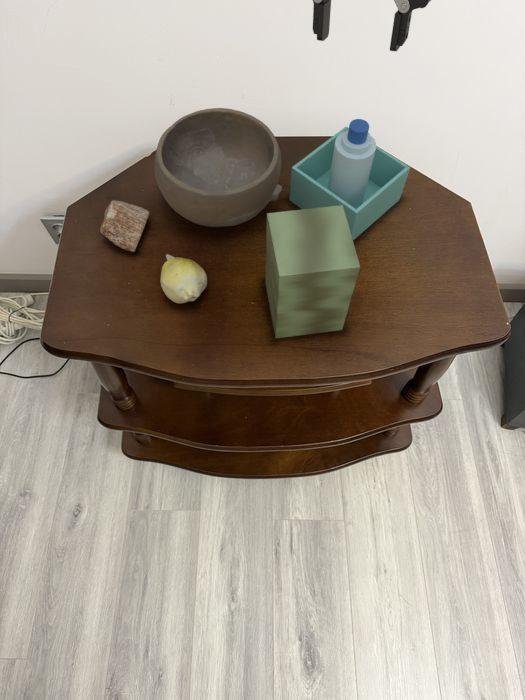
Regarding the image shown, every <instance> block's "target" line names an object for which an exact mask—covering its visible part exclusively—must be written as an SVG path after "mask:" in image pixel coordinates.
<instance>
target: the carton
mask: <svg viewBox="0 0 525 700" xmlns="http://www.w3.org/2000/svg"><path fill="white" fill-rule="evenodd" d="M348 129H349V126H344V127H343V128H342V129H340V130H339V131H338V132H336V133H335V134H333V135H332V136H331V137H330V138H329V139H327V140H325V142H323V143H322V144H320V145H319V146H318V147H317V148H315V149H314V150H313V151H311V152H310V153H309V154H308V155H306V156H304V158H302V159H301V160H300V161H298V162H296V163H295V165H293V166H292V167H291V170H290V185H289V199H288V200H289V201H290V202H291V203H292V204H294V205H295V206H297V207H298V208H300V210H302V209H312V208H321V207H330V206H339V205H343V208H344V212H345V215H346V219H347V222H348V225H349V229H350V232H351V236H352V239H353V241H354V240H356V239H357V238H358V237H359V236H361V234H362V233H364V232H365V231H366V230H367V229H368V228H369V227H371V226H372V225H373V224H374V223H375V222H376V221H378V219H380V218H381V217H382V216H383V215H384V214H385V213H386V212H387V211H389V210H390V209H391V208H392V207H393V206H394V205H396V204H397V203H398V202H399V201H400V200H401V197H402V194H403V191H404V188H405V185H406V182H407V179H408V176H409V173H410V170H411V166H410V165H408V164H406V163H405V162H403V161H401V160H400V159H399V158H397V157H395V156H394V155H392V154H390V153H389V152H387V151H386V150H385V149H382V148H381V147H379V146H378V145H376V151H375V155H374V159H373V163H372V167H371V171H370V175H369V179H368V183H367V187H366V191H365V195H364V199H363V202H362V204H361V205H360V206H359V207H358V208H356V209H355V208H354V207H352V206H351V205H349V204H348V203H347V202H345V201H344V200H342V199H341V198H339V197H338V196H337V195H335V194H334V193H332V192H331V191H329V190H328V183H329V176H330V170H331V164H332V158H333V151H334V145H335V140H336V138H337V137H338V136H339V135H340V134H341V133H343V132H345V131H346V130H348Z"/></svg>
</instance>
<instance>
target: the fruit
mask: <svg viewBox="0 0 525 700" xmlns="http://www.w3.org/2000/svg"><path fill="white" fill-rule="evenodd" d="M165 258H166V261H165V262H164V264H163V265H162V267H161V272H160V279H159V280H160V282H159V283H160V287H161V290H162V291H163V292H164V295H165V296H166V297H167V299H169V300H170V301H172V302H173V303H176V304H185V303H188V302H194V301H196V300H197V299H198V298H199V297H200V296H201V294H202V293H203V292H204V291H205V289H206V288H207V286H208V276H207V273H206V271H205V270H204V268H203V267H202V266H201V265H200V264H198V263H197V262H195V261H194V260H193V259H190V258H185V257H178V256H177V257H175V256H173V255H171V254H169V253H167V254H165Z"/></svg>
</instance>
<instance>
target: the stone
mask: <svg viewBox="0 0 525 700" xmlns="http://www.w3.org/2000/svg"><path fill="white" fill-rule="evenodd" d="M149 217H150V211H149V210H148V209H146V208H144V207H141V206H138V205H135V204H133V203H132V204H131V203H128V202H127V201H123V200H111V202H110V203H109V204H108V206H106V209H105V211H104V215H103V221H102V223H101V224H100V228H99V231H100V233H101V234H102V235H103V236H104V237H106V239H108V240H109V242H112V244H113V245H115V246H117V247H119V248H120V249H123V250H125V251H126V252H130V253H135V252H136V250H137V247H138V244H139V242H140V240H141V237H142V234H143V232H144V230H145V226H146V224H147V221H148V219H149Z"/></svg>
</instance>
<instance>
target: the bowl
mask: <svg viewBox="0 0 525 700" xmlns="http://www.w3.org/2000/svg"><path fill="white" fill-rule="evenodd" d="M155 150H156V151H155V156H154V163H153V170H154V171H153V172H154V177H155V181H156V184H157V187H158V190H159V192H160V193H161V195H162V197H163V198H164V200H165V202H166V203H167V204H168V205H169V207H170V208H171V209H172V210H173V211H174V212H176V213H177V214H178V215H180V216H181V217H182V218H184V219H186V220H188V221H190V222H192V223H194V224H197V225H200V226H204V227H209V228H221V227H222V228H223V227H233V226H237V225H240V224H241V225H242V224H243V223H245V222H247V221H250V220H252V219H254V218H255V217H256V216H257V215H259V214H260V213H261V212H262V211H263V210H264V209H265V208H266V207H267V205H268V204H269V203H270V202H277V201H278V200H279V196H280V194H281V192H282V190H283V186H282V185H280V184H279V180H280V176H281V171H282V153H281V148H280V145H279V143H278V140H277V139H276V135H274V133H273V131H272V129H270V127H268V126H267V124H265V122H263V121H262V120H260V119H259V118H257V117H255V116H253V115H251V114H248V113H246V112H244V111H240V110H236V109H232V108H227V107H213V108H205V109H200V110H197V111H194V112H191V113H188V114H186V115H184V116H182V117H180V118H179V119H177V120H176V121H174V122H173V123H172V124H171V126H169V127H168V128H166V130H165V131H164V132H163V133H162V134H161V136H160V138H159V140H158V144H157V146H156V149H155Z"/></svg>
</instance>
